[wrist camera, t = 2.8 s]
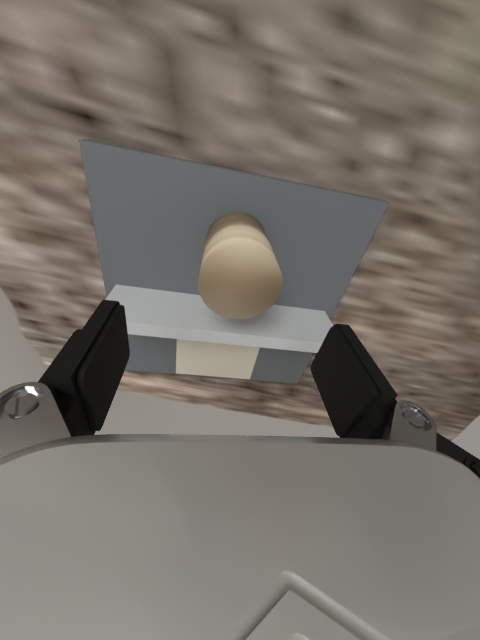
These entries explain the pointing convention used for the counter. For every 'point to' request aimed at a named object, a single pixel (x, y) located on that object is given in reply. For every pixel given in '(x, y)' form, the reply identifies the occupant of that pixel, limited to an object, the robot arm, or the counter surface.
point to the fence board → (187, 251)
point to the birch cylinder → (238, 268)
